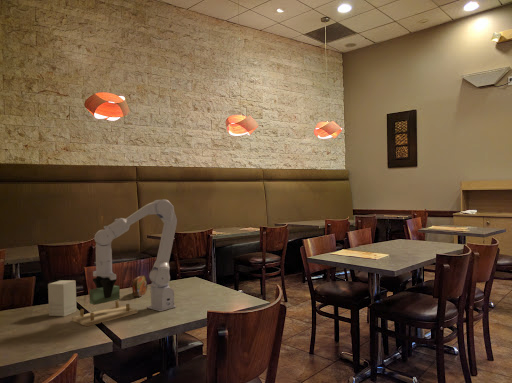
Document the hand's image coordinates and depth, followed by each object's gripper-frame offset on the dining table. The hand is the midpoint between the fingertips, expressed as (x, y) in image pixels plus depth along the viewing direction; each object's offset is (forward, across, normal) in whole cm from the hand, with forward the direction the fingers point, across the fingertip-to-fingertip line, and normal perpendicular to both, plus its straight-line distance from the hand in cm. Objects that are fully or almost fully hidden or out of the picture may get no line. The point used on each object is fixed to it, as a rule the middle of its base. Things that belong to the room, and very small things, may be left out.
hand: (104, 296), depth 150 cm
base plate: (+8, 0, 0) cm, 8 cm away
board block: (+2, 0, 0) cm, 2 cm away
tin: (+8, -21, +28) cm, 36 cm away
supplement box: (+8, -19, -8) cm, 22 cm away
